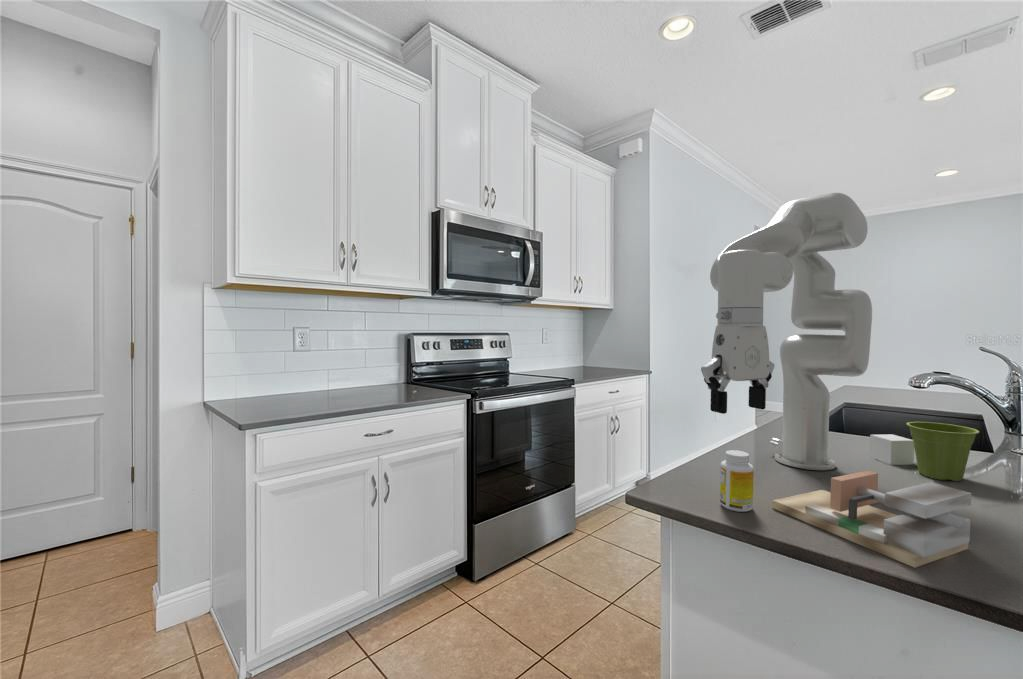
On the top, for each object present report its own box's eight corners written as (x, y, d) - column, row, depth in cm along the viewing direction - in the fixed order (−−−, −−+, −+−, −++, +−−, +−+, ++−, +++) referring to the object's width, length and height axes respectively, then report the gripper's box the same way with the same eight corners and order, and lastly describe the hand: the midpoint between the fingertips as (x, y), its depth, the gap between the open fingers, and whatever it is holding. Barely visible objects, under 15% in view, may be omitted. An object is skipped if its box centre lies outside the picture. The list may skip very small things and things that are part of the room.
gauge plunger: (826, 509, 76) (827, 478, 76) (866, 499, 80) (867, 470, 80) (936, 551, 62) (938, 513, 62) (978, 536, 66) (980, 501, 66)
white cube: (869, 457, 116) (870, 434, 115) (891, 457, 116) (892, 434, 116) (890, 465, 110) (891, 440, 109) (913, 464, 110) (914, 440, 110)
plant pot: (974, 475, 102) (976, 426, 101) (980, 490, 93) (982, 436, 93) (904, 464, 110) (906, 418, 109) (904, 476, 101) (906, 427, 100)
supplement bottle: (759, 509, 83) (761, 455, 83) (739, 515, 81) (740, 459, 80) (733, 499, 88) (734, 447, 88) (713, 504, 86) (714, 451, 85)
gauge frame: (772, 508, 84) (773, 460, 84) (821, 497, 89) (823, 452, 89) (919, 569, 63) (921, 506, 63) (972, 550, 68) (975, 492, 68)
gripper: (721, 318, 76) (719, 418, 77) (791, 318, 83) (789, 410, 84) (688, 318, 83) (687, 410, 84) (755, 318, 90) (753, 403, 91)
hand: (738, 410), depth 84 cm, fingers open, 9 cm apart
